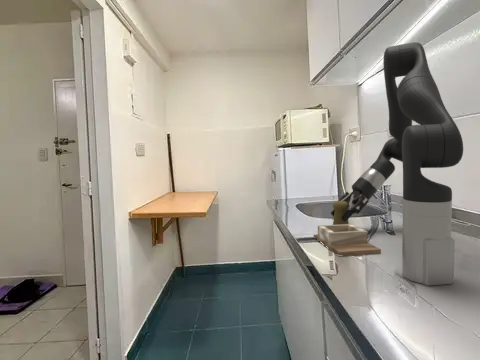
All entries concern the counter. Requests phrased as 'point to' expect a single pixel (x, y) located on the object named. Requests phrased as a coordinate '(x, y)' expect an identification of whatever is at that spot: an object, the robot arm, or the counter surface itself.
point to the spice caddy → (346, 240)
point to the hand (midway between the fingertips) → (337, 217)
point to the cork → (340, 212)
